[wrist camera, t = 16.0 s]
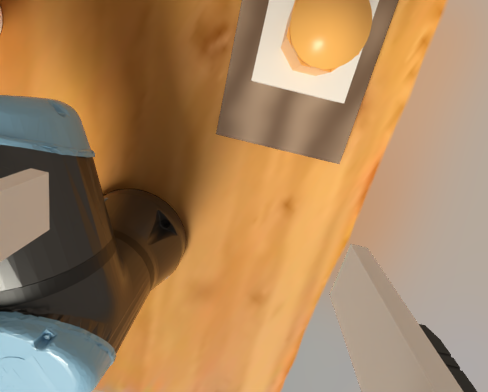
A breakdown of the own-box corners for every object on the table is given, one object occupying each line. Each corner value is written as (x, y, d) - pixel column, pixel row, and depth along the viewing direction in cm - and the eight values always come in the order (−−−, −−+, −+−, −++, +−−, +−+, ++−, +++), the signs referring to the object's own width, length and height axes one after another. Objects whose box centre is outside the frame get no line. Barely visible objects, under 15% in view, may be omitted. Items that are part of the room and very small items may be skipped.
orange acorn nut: (276, 66, 29) (281, 58, 22) (292, 0, 27) (303, -33, 20) (331, 80, 29) (355, 76, 22) (351, 15, 27) (385, -12, 20)
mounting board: (217, 132, 37) (216, 134, 36) (263, -103, 29) (263, -113, 28) (336, 161, 38) (339, 164, 36) (415, -63, 29) (423, -70, 28)
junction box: (252, 81, 34) (249, 78, 25) (275, -19, 30) (280, -61, 22) (335, 101, 34) (359, 106, 25) (366, 4, 30) (407, -28, 22)
